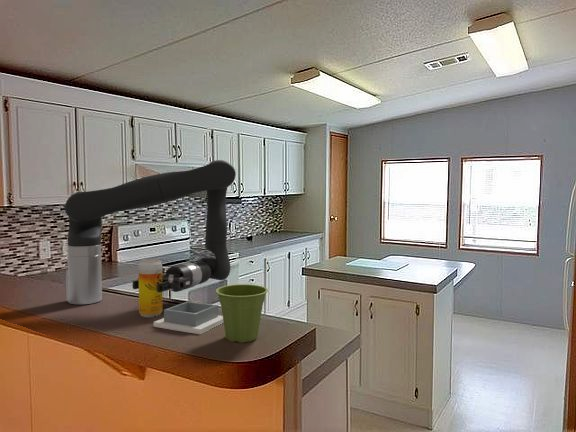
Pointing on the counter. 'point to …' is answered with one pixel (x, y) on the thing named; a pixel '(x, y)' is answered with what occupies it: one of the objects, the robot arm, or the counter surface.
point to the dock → (190, 317)
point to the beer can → (150, 287)
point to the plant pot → (241, 310)
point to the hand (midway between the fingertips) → (145, 286)
